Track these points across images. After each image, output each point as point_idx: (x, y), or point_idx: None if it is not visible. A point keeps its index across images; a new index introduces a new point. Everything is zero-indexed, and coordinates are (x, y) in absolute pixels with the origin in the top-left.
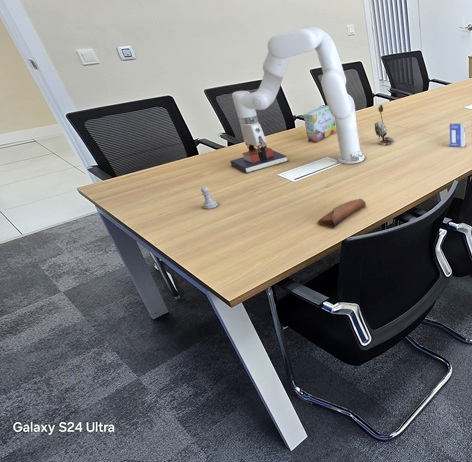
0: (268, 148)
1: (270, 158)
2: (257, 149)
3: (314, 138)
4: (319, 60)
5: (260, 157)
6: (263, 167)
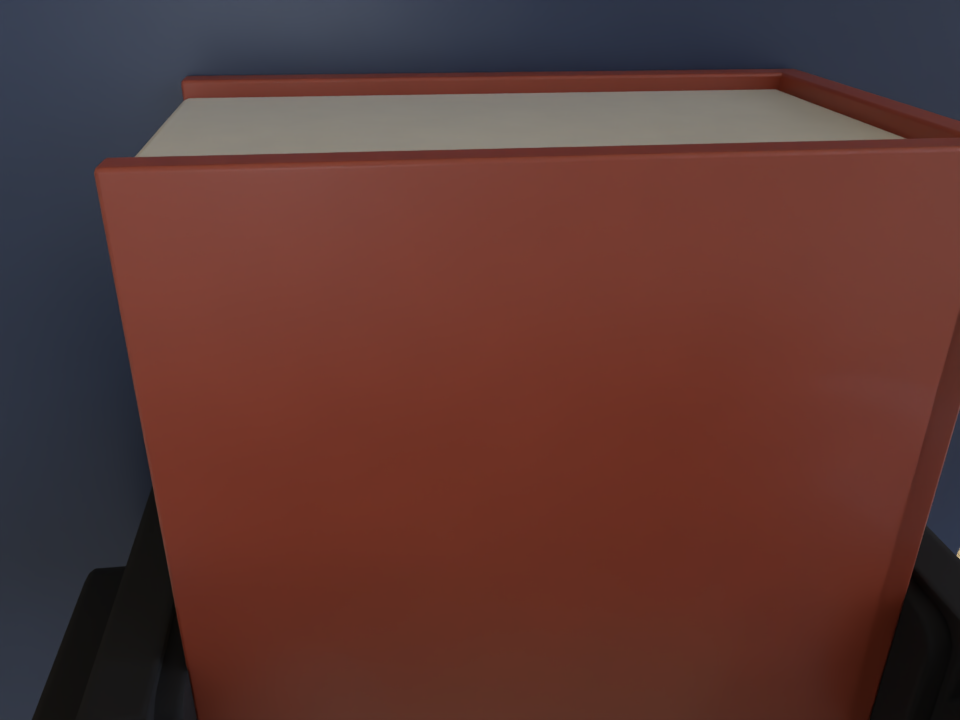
0: (780, 223)
1: None
2: (353, 659)
3: None
4: None
5: None
6: None
